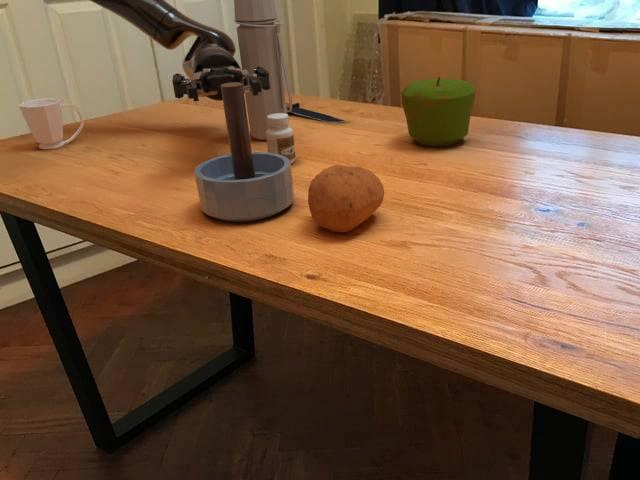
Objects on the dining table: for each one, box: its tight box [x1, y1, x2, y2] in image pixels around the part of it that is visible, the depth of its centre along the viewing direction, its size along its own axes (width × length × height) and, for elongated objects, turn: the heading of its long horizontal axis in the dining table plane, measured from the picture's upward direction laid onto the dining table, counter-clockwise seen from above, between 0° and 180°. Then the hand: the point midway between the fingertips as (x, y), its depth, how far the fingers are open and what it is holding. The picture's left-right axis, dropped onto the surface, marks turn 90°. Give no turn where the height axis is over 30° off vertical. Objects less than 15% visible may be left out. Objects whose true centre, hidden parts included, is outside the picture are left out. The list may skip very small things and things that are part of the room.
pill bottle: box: [266, 113, 297, 165], centre depth 108 cm, size 4×4×8 cm
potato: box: [307, 164, 385, 233], centre depth 85 cm, size 9×11×8 cm
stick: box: [221, 82, 255, 180], centre depth 89 cm, size 3×3×16 cm
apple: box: [400, 76, 476, 148], centre depth 115 cm, size 12×12×11 cm
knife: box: [286, 102, 346, 123], centre depth 138 cm, size 26×3×5 cm
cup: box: [18, 97, 84, 150], centre depth 123 cm, size 7×10×8 cm
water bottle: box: [233, 0, 293, 141], centre depth 118 cm, size 9×8×25 cm
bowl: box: [193, 151, 295, 223], centre depth 91 cm, size 13×13×6 cm
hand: (225, 91), depth 95 cm, fingers open, 8 cm apart
